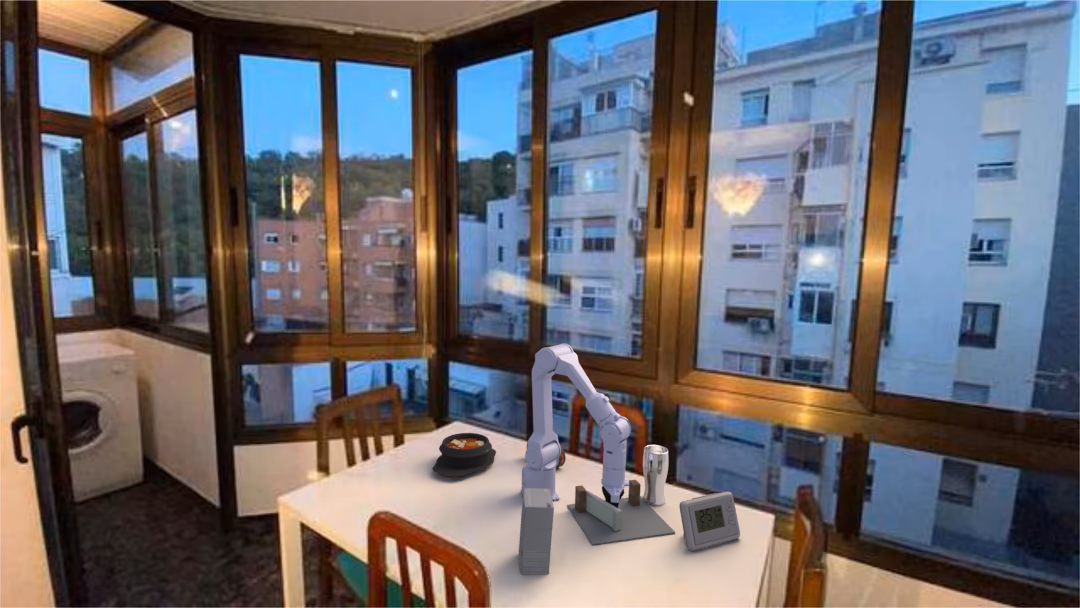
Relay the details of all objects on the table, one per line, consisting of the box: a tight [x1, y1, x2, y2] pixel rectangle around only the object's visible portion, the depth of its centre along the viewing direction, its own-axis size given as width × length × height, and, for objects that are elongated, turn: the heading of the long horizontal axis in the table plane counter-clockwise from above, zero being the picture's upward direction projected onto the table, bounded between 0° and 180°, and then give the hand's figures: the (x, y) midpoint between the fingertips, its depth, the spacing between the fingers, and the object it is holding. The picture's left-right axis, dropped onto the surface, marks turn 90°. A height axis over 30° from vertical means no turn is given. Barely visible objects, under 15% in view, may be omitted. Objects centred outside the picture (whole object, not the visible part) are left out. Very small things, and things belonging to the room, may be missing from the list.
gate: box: [586, 490, 622, 531], centre depth 127 cm, size 12×2×5 cm, turn 36°
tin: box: [526, 442, 567, 470], centre depth 161 cm, size 15×3×8 cm, turn 49°
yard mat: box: [566, 495, 676, 547], centre depth 128 cm, size 22×19×1 cm
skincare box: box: [518, 488, 555, 575], centre depth 108 cm, size 8×7×16 cm
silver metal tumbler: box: [642, 444, 669, 507], centre depth 138 cm, size 7×7×15 cm
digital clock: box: [678, 491, 741, 552], centre depth 119 cm, size 16×9×11 cm, turn 102°
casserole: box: [432, 432, 497, 478], centre depth 159 cm, size 25×19×8 cm
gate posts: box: [574, 479, 642, 513], centre depth 134 cm, size 18×3×6 cm, turn 105°
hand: (611, 514), depth 127 cm, fingers closed, pressing on gate
